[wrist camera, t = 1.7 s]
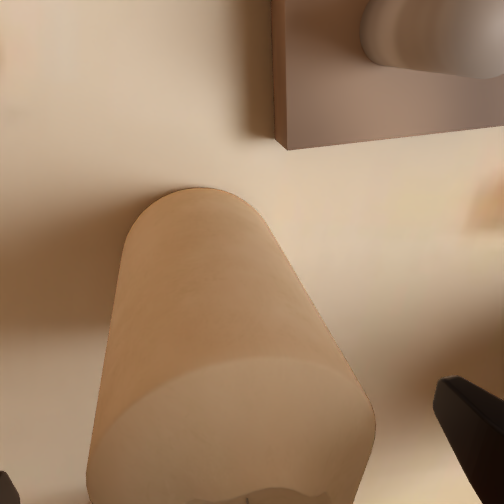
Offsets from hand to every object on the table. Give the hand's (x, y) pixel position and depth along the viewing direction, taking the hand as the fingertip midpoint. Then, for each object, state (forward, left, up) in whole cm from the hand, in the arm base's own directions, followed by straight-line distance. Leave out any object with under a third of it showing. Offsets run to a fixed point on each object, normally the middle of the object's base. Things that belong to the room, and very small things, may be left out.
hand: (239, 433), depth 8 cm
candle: (0, 0, -8) cm, 8 cm away
